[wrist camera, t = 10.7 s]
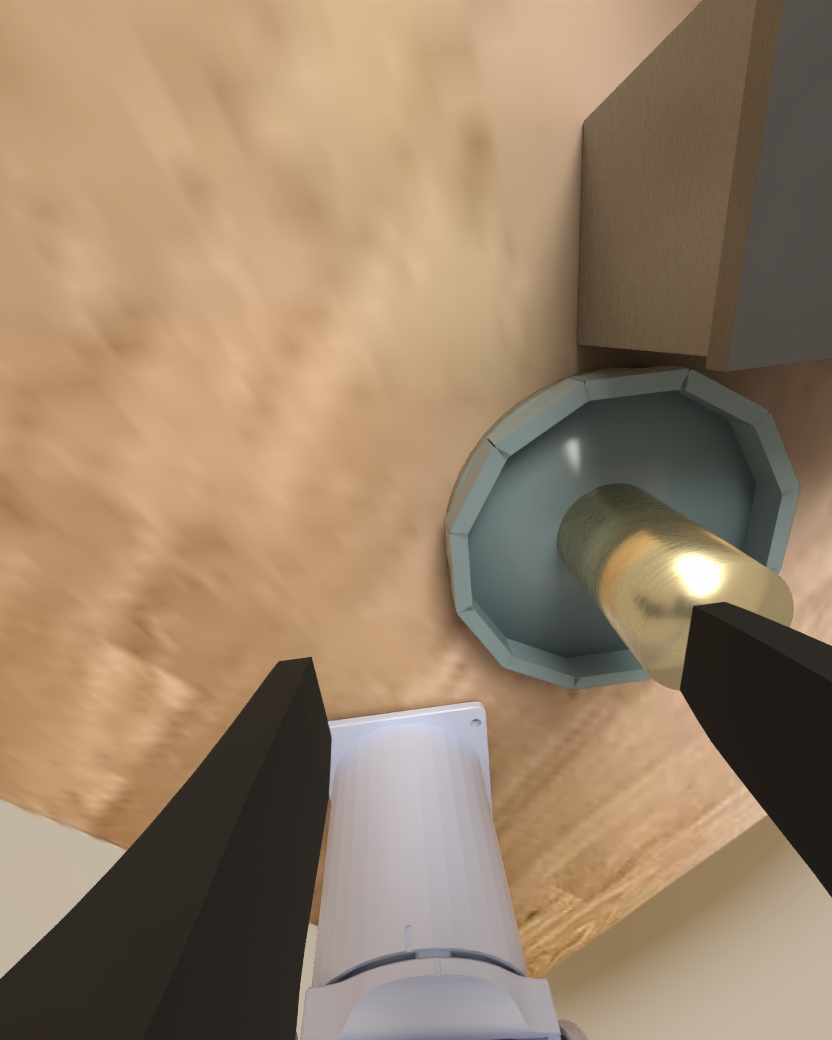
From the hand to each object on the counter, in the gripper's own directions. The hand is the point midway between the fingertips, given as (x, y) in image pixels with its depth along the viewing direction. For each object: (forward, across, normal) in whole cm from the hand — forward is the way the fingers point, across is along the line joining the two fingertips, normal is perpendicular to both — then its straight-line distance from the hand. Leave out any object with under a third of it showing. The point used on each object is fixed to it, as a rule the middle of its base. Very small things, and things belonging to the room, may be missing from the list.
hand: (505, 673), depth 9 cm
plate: (+9, -6, +2) cm, 11 cm away
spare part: (+8, -6, +2) cm, 10 cm away
